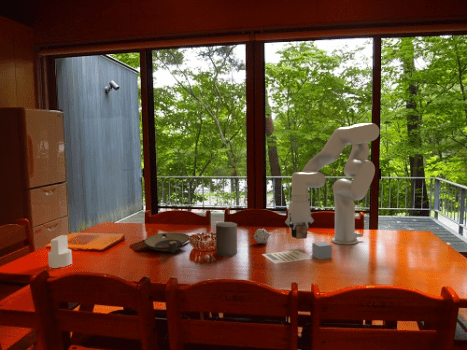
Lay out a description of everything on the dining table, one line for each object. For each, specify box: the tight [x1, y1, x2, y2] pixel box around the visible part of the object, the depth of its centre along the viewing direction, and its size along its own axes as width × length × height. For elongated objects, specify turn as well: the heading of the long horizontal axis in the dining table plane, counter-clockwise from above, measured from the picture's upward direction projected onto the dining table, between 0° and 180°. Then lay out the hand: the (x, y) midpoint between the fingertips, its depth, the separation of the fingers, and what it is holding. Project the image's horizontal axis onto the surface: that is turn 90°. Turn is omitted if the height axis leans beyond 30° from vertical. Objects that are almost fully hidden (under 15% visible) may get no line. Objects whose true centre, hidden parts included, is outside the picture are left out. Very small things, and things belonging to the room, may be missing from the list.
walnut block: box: [295, 223, 308, 240], centre depth 181 cm, size 5×5×6 cm
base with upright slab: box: [47, 234, 73, 268], centre depth 162 cm, size 9×9×12 cm
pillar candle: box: [215, 221, 238, 257], centre depth 175 cm, size 10×10×15 cm
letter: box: [261, 249, 313, 265], centre depth 169 cm, size 18×14×1 cm
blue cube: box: [311, 241, 333, 260], centre depth 167 cm, size 6×6×6 cm
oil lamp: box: [143, 232, 191, 253], centre depth 182 cm, size 22×30×8 cm
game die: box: [251, 227, 272, 246], centre depth 190 cm, size 9×8×10 cm
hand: (299, 236), depth 181 cm, fingers closed on walnut block, 5 cm apart
